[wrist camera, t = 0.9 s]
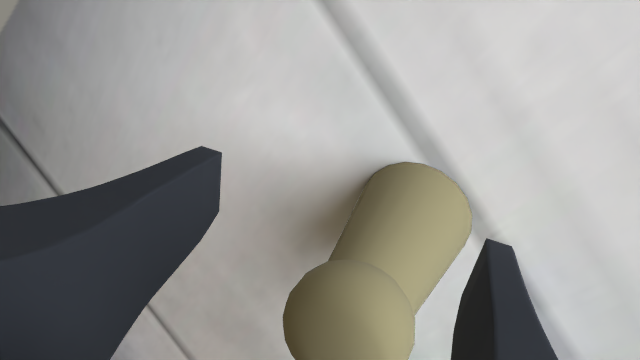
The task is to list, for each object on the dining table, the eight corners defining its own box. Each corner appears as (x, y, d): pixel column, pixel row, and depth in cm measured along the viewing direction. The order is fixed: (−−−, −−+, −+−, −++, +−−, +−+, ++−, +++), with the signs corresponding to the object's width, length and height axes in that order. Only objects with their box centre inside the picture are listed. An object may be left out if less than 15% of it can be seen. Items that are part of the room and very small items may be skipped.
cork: (492, 249, 28) (439, 415, 19) (391, 272, 31) (306, 423, 22) (440, 145, 26) (359, 271, 17) (342, 182, 30) (231, 302, 21)
